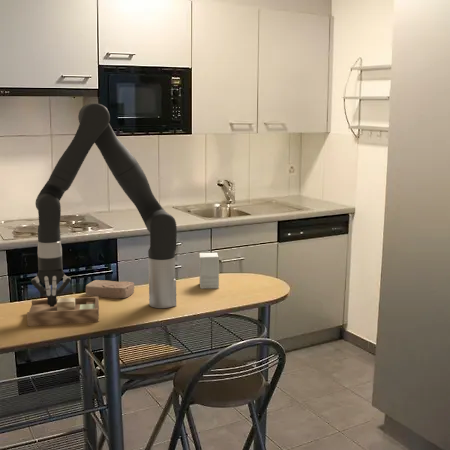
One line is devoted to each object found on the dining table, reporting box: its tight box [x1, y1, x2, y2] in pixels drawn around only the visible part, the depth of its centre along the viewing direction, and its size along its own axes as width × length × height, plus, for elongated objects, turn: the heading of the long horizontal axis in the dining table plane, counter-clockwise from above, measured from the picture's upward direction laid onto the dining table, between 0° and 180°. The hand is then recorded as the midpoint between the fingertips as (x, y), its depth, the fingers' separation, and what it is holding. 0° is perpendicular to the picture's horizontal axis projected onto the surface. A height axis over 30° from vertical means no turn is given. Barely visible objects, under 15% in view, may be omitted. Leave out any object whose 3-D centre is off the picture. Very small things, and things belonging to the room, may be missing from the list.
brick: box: [85, 279, 135, 299], centre depth 228 cm, size 17×8×5 cm, turn 74°
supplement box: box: [198, 252, 220, 290], centre depth 238 cm, size 7×7×13 cm
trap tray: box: [26, 296, 100, 327], centre depth 202 cm, size 22×14×4 cm, turn 101°
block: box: [57, 297, 76, 311], centre depth 202 cm, size 6×4×3 cm
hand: (52, 305), depth 201 cm, fingers closed
